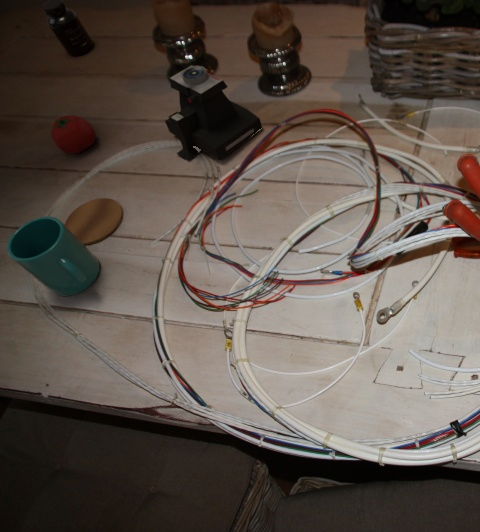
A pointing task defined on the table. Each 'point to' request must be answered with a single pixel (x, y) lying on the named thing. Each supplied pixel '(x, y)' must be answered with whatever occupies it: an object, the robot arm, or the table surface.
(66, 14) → the supplement bottle
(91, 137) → the tomato
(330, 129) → the table surface
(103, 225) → the coaster
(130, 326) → the table surface
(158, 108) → the table surface
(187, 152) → the camera
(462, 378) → the table surface
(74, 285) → the cup
